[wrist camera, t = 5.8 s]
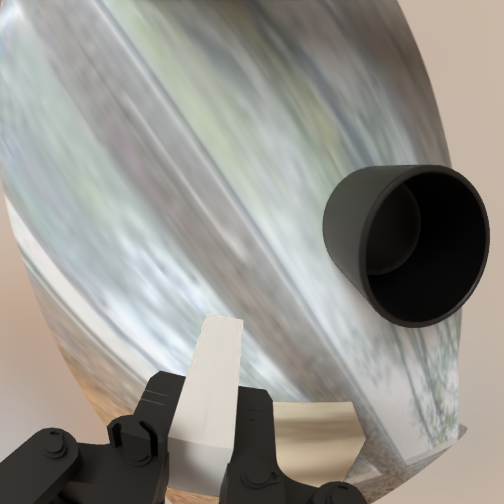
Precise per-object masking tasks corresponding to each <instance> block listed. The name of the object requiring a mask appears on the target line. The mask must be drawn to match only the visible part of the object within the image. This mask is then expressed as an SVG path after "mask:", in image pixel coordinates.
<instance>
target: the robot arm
mask: <svg viewBox="0 0 504 504" xmlns="http://www.w3.org/2000/svg"><path fill="white" fill-rule="evenodd" d="M242 332H243V320H241V319H235V318H230V317H224V316H219V315H214V314H209V313H207V314H206V317H205V320H204V324H203V327H202V330H201V333H200V336H199V339H198V342H197V345H196V348H195V351H194V354H193V357H192V360H191V364H190V367H189V370H188V373H187V376H186V377H185V376H181V375H176V374H172V373H168V372H164V371H159V372H158V373H157V374H155V375H154V376H153V377H151V378H150V379H149V382H148V384H147V386H146V388H145V391H144V392H143V394H142V397H141V400H140V401H139V403H138V405H137V407H136V410H135V412H134V414H133V415H126V416H120V417H118V418H116V419H114V420H112V421H111V422H110V424H109V425H108V426H107V430H108V435H109V440H110V444H105V445H96V444H86V443H78V442H76V440H75V438H73V436H72V435H71V434H70V433H68V432H66V431H64V430H62V429H58V428H46V429H42V430H40V431H38V432H37V433H35V434H34V435H33V436H32V437H30V438H29V439H28V440H27V441H26V442H24V443H23V444H22V445H21V446H20V447H19V448H17V449H16V450H15V451H14V452H13V453H11V454H10V455H9V456H8V457H7V458H5V459H4V460H3V461H2V462H1V463H0V504H165V493H166V489H167V485H168V488H173V489H177V490H182V491H187V492H192V493H197V494H203V495H209V496H215V497H219V496H220V497H219V504H367V502H366V500H365V498H364V497H363V495H362V494H361V492H360V491H359V490H358V489H357V488H356V487H354V486H353V485H351V484H349V483H346V482H341V481H333V482H328V483H325V484H323V485H321V486H320V487H319V488H318V487H315V486H311V485H307V484H303V483H300V482H297V481H295V480H292V479H291V478H289V477H288V476H286V475H285V474H284V473H283V472H282V471H281V469H280V467H279V466H278V463H277V458H276V442H275V426H274V415H273V413H274V411H273V400H272V399H271V397H270V396H269V394H268V392H267V391H266V390H264V389H256V388H250V387H243V386H238V383H239V370H240V357H241V344H242Z"/></svg>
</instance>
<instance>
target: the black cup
mask: <svg viewBox="0 0 504 504" xmlns="http://www.w3.org/2000/svg"><path fill="white" fill-rule="evenodd" d="M323 237H324V242H325V245H326V248H327V251H328V253H329V255H330V257H331V259H332V260H333V261H334V263H335V264H336V265H337V266H338V268H339V269H340V270H341V271H342V272H343V273H344V274H345V275H346V277H347V278H348V279H349V280H350V281H351V282H352V284H353V285H354V286H355V287H356V288H357V289H358V291H359V292H360V293H361V294H362V295H363V296H364V298H365V299H366V300H367V301H368V302H369V303H370V305H371V306H372V307H373V308H374V309H375V311H376V312H377V313H378V314H380V315H381V316H382V317H383V318H385V319H386V320H388V321H389V322H391V323H393V324H396V325H399V326H402V327H408V328H421V327H427V326H431V325H434V324H436V323H439V322H441V321H443V320H444V319H446V318H448V317H449V316H451V315H452V314H454V313H455V312H456V311H457V310H458V309H459V308H460V307H461V306H462V305H463V304H464V303H465V302H466V301H467V300H468V299H469V297H470V296H471V295H472V293H473V292H474V290H475V288H476V287H477V285H478V283H479V281H480V279H481V277H482V275H483V272H484V268H485V266H486V262H487V258H488V253H489V245H490V228H489V221H488V216H487V212H486V209H485V206H484V203H483V201H482V199H481V197H480V195H479V193H478V192H477V190H476V189H475V187H474V186H473V185H472V184H471V183H470V182H469V181H468V180H467V179H466V178H465V177H464V176H463V175H461V174H460V173H458V172H456V171H454V170H453V169H450V168H448V167H444V166H441V165H395V166H374V167H366V168H363V169H360V170H357V171H355V172H353V173H351V174H350V175H348V176H347V177H346V178H344V179H343V180H342V181H341V182H340V183H339V184H338V185H337V187H336V188H335V189H334V191H333V192H332V194H331V196H330V198H329V200H328V202H327V204H326V208H325V211H324V216H323Z"/></svg>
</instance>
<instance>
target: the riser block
mask: <svg viewBox="0 0 504 504" xmlns="http://www.w3.org/2000/svg"><path fill="white" fill-rule="evenodd" d="M273 411H274V413H273V415H274V426H275V442H276V458H277V463H278V466H279V467H280V469H281V471H282V472H283V473H284V474H285V475H286V476H288V477H289V478H291V479H292V480H295V481H297V482H300V483H303V484H307V485H311V486H315V487H318V488H319V487H320V486H321V485H323V484H325V483H328V482H333V481H341V482H343V480H344V479H345V477H346V475H347V473H348V472H349V470H350V468H351V466H352V465H353V463H354V461H355V459H356V457H357V456H358V454H359V452H360V450H361V448H362V446H363V444H364V442H365V440H366V438H365V435H364V433H363V430H362V427H361V425H360V422H359V419H358V417H357V414H356V412H355V409H354V406H353V404H352V401H351V402H319V403H297V402H273Z"/></svg>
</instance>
